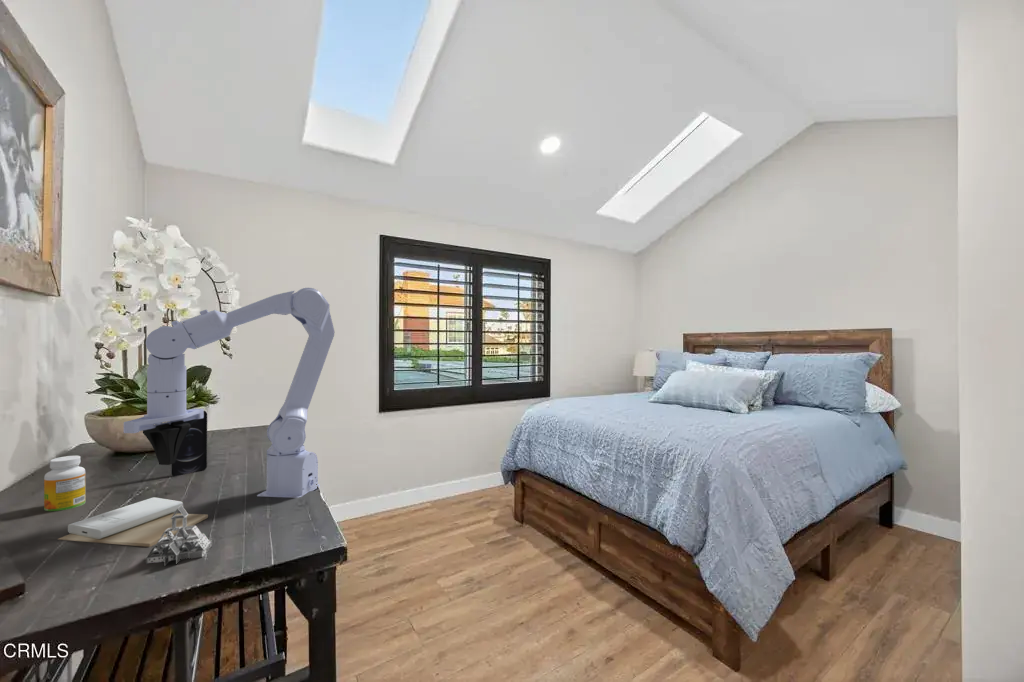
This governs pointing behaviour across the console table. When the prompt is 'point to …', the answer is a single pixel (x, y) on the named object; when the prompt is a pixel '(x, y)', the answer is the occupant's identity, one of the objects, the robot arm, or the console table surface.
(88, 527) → the external hard drive
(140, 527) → the birch board
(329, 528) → the console table surface
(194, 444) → the smartphone
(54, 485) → the supplement bottle
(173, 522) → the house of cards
